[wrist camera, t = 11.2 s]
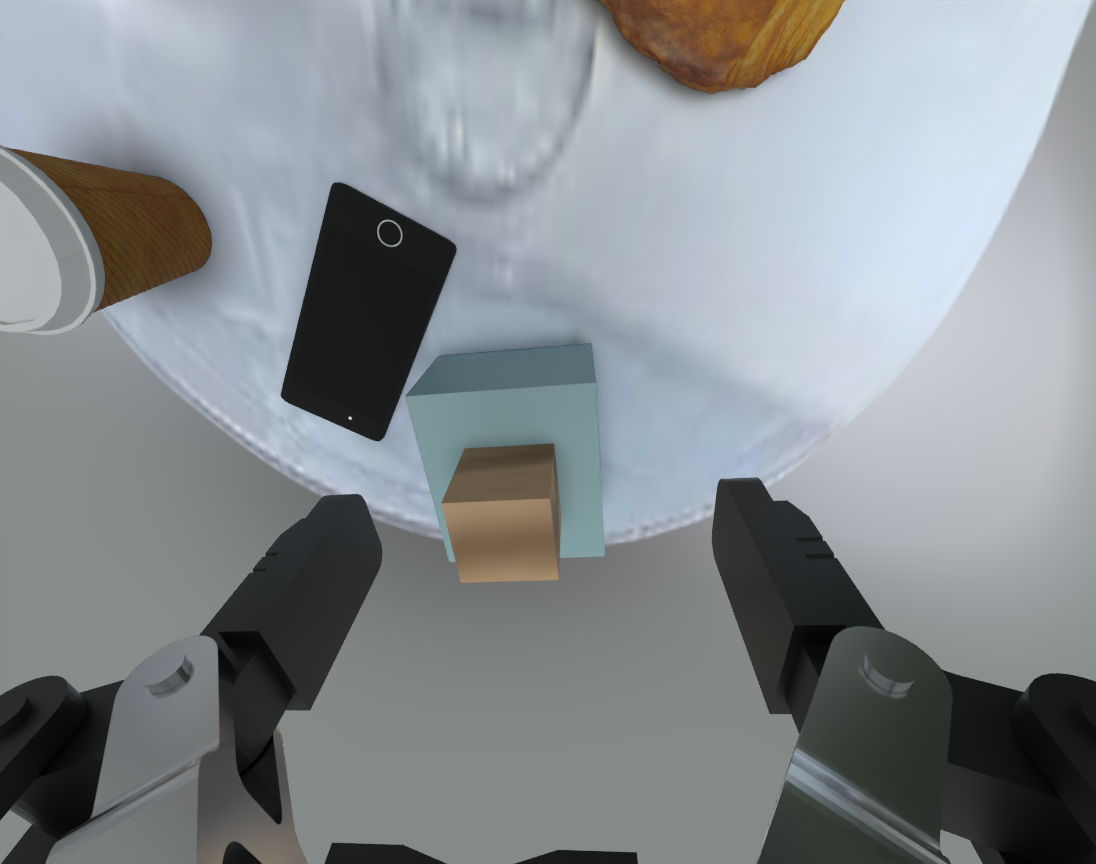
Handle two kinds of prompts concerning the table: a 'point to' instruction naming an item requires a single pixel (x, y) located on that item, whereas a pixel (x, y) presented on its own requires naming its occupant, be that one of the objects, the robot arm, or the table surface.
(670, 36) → the croissant
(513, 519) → the walnut cube
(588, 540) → the stand
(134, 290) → the disposable coffee cup
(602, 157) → the table surface
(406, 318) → the cell phone
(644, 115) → the table surface
